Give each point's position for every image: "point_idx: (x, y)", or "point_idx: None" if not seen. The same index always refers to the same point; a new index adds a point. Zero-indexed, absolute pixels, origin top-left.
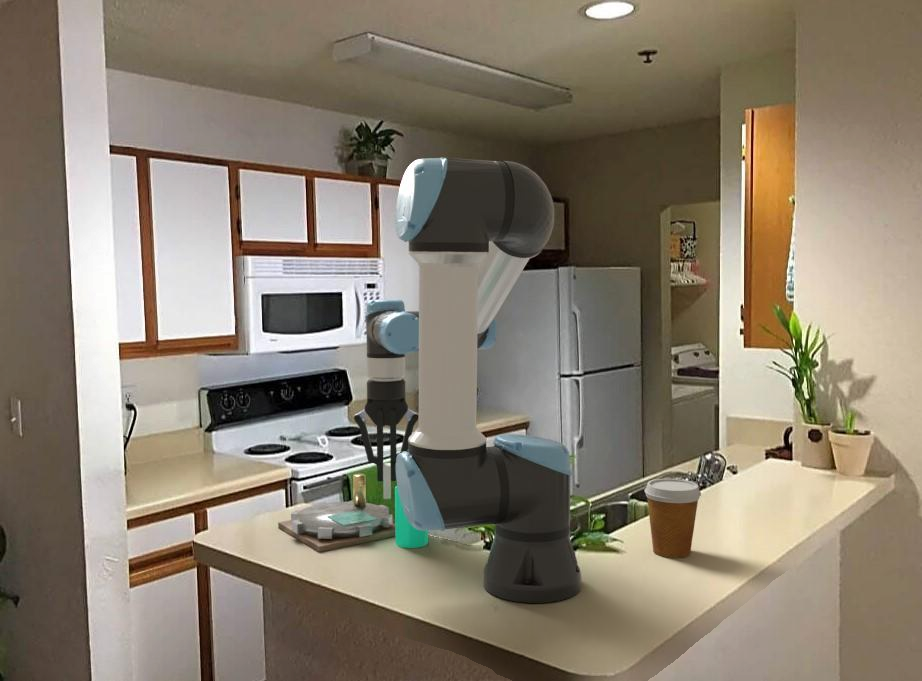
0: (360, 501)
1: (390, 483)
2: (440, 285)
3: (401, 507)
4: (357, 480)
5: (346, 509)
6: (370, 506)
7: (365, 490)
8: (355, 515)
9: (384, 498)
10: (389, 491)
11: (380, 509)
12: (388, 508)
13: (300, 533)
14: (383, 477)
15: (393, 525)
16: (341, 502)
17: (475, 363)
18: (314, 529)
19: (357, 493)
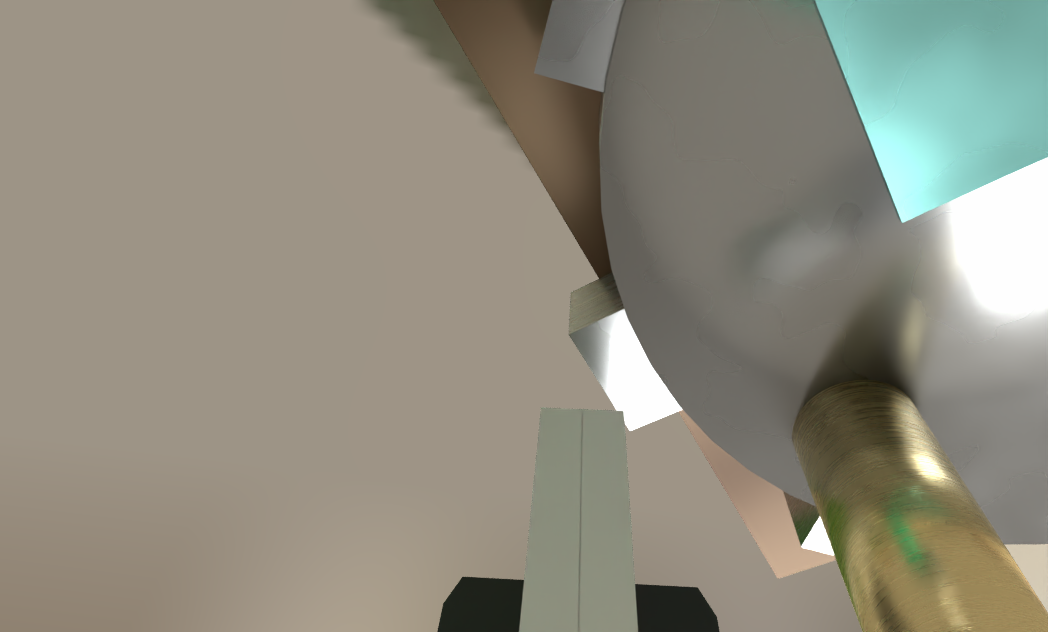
0: (872, 413)
1: (534, 529)
2: None
3: None
4: (1016, 603)
5: (1027, 304)
6: (752, 375)
7: (837, 526)
8: (1001, 5)
9: (612, 412)
10: (553, 460)
11: (659, 261)
12: (572, 330)
13: None
14: (632, 603)
15: (530, 58)
16: (1012, 526)
17: None
18: None
19: (939, 475)
